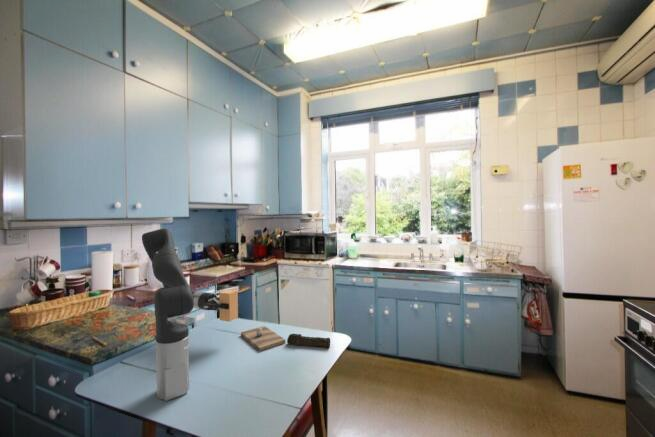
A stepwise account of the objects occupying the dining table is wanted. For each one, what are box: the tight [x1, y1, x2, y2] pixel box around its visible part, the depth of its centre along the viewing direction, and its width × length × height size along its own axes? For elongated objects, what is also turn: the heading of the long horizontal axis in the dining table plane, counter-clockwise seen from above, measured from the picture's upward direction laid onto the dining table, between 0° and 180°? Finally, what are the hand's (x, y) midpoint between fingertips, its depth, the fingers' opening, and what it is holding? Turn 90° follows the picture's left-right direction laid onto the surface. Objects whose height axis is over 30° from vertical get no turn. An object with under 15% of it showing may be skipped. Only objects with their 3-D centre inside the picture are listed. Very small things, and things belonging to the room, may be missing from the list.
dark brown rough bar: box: [286, 333, 331, 349], centre depth 122 cm, size 19×4×5 cm, turn 77°
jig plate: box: [240, 325, 286, 352], centre depth 128 cm, size 20×12×5 cm, turn 39°
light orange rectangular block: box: [218, 289, 239, 322], centre depth 124 cm, size 5×5×12 cm
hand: (233, 304), depth 123 cm, fingers closed on light orange rectangular block, 5 cm apart
